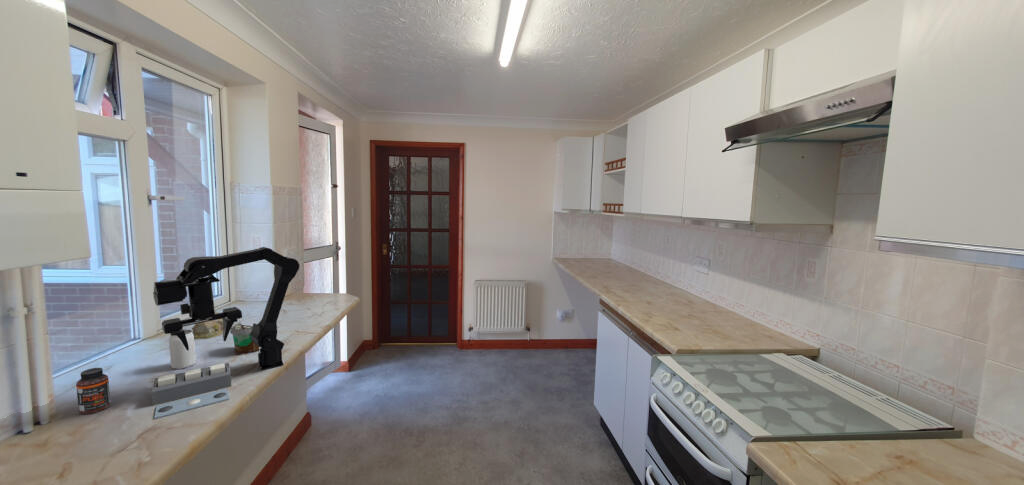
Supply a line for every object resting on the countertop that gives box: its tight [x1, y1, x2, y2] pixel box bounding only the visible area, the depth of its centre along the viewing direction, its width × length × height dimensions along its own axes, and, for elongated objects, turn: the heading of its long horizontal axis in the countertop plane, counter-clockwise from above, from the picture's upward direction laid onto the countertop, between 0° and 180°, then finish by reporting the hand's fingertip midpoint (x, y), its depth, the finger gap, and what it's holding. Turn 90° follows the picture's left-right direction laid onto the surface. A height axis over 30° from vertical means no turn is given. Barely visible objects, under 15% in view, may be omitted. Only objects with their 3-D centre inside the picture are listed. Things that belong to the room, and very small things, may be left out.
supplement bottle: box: [75, 367, 112, 415], centre depth 102 cm, size 6×6×11 cm
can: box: [168, 329, 197, 370], centre depth 129 cm, size 6×6×12 cm
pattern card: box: [153, 388, 230, 420], centre depth 107 cm, size 16×7×1 cm, turn 130°
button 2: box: [209, 363, 226, 375], centre depth 118 cm, size 4×4×2 cm
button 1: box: [157, 373, 176, 387], centre depth 110 cm, size 4×4×2 cm
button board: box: [150, 362, 232, 406], centre depth 114 cm, size 18×10×4 cm, turn 130°
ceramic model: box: [191, 310, 223, 340], centre depth 158 cm, size 14×11×10 cm
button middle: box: [184, 367, 202, 381], centre depth 114 cm, size 4×4×2 cm
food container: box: [229, 321, 260, 355], centre depth 141 cm, size 12×6×10 cm, turn 68°
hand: (206, 345), depth 116 cm, fingers open, 9 cm apart
